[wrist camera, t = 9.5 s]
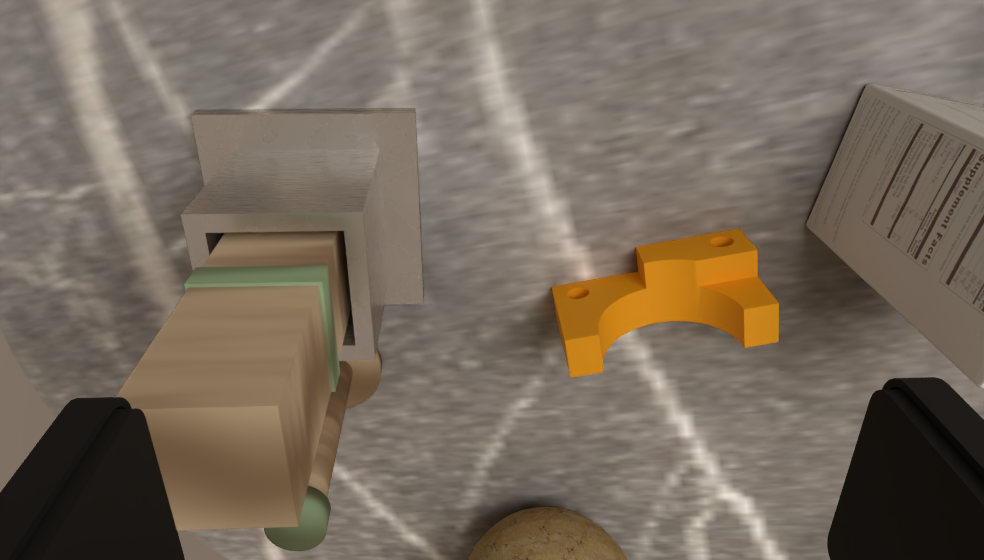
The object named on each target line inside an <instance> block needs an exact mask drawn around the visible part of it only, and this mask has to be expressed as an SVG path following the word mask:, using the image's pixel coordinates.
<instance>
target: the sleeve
mask: <svg viewBox="0 0 984 560" xmlns="http://www.w3.org/2000/svg"><path fill="white" fill-rule="evenodd" d="M191 119H192V124H193V129H194V135H195V140H196V145H197V150H198V155H199V161H200V166H201V171H202V176H203V181H204V188H203V189H202V190H201V191H200V192H199V193H198V195H197V196H196V197H195V198H194V199H193V201H192V202H191V203H190V204H189V205H188V207H187V208H186V209H185V210H184V211H183V213H182V214H181V218H182V223H183V227H184V232H185V237H186V241H187V246H188V251H189V256H190V260H191V265H192V270H194V269H195V267H202V266H203V265H204V263H205V262H206V260H207V259H208V257H209V256H210V254H211V253H212V251H213V250H214V248H215V247H216V245H217V244H218V242H219V241H220V239H221V238H222V236H223V235H224V233H226V232H292V231H344V236H345V246H346V256H347V266H348V276H349V286H350V296H351V306H352V308H351V312H350V316H349V320H348V324H347V328H346V332H345V336H344V341H343V345H342V349H341V353H340V357H339V361H364V360H375V358H376V352H377V346H378V340H379V334H380V328H381V322H382V316H383V310H384V305H398V304H424V284H423V262H422V240H421V218H420V196H419V175H418V153H417V131H416V109H415V108H396V109H272V110H196V111H195V112H194V113H193V114H191Z"/></svg>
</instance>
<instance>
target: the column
mask: <svg viewBox="0 0 984 560" xmlns="http://www.w3.org/2000/svg"><path fill="white" fill-rule="evenodd" d="M184 287H185V291H186V292H185V293H184V295H183V296H182V298H181V299H180V301H179V302H178V304H177V305H176V307H175V308H174V310H173V311H172V313H171V314H170V316H169V317H168V319H167V320H166V322H165V323H164V325H163V326H162V328H161V329H160V331H159V332H158V334H157V335H156V337H155V339H154V340H153V342H152V343H151V345H150V346H149V348H148V349H147V351H146V352H145V354H144V355H143V357H142V358H141V360H140V361H139V363H138V364H137V366H136V367H135V369H134V370H133V372H132V373H131V375H130V376H129V378H128V379H127V381H126V382H125V384H124V385H123V387H122V388H121V390H120V391H119V393H118V394H117V396H116V397H122V398H125V399H126V400H127V401H128V402H129V403H130V406H131V408H132V409H134V408H138V409H141V410H142V411H143V413H144V415H145V417H146V420H147V424H148V428H149V431H150V435H151V439H152V442H153V446H154V449H155V453H156V457H157V460H158V464H159V467H160V471H161V475H162V478H163V482H164V486H165V489H166V493H167V496H168V500H169V504H170V507H171V511H172V514H173V518H174V522H175V525H176V529H177V531H178V530H209V529H241V528H272V527H298V525H299V521H300V517H301V512H302V508H303V504H304V500H305V496H306V492H307V488H308V484H309V480H310V476H311V472H312V467H313V463H314V459H315V455H316V451H317V447H318V443H319V439H320V435H321V431H322V427H323V422H324V418H325V414H326V410H327V406H328V402H329V398H330V394H331V392H335V391H336V387H337V383H338V379H339V374H340V367H339V357H340V353H341V349H342V345H343V341H344V336H345V332H346V328H347V324H348V320H349V316H350V312H351V308H352V306H351V296H350V286H349V276H348V266H347V256H346V246H345V236H344V231H292V232H226V233H224V235H223V236H222V238H221V239H220V241H219V242H218V244H217V245H216V247H215V248H214V250H213V251H212V253H211V254H210V256H209V257H208V259H207V260H206V262H205V263H204V265H203V266H202V267H195V269H194V270H193V272H192V273H191V275H190V276H189V278H188V279H187V281H186V282H185V283H184Z"/></svg>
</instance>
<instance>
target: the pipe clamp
mask: <svg viewBox="0 0 984 560" xmlns="http://www.w3.org/2000/svg"><path fill="white" fill-rule="evenodd" d="M636 255H637V266H638V272H633V273H627V274H621V275H616V276H610V277H604V278H599V279H593V280H587V281H582V282H576V283H571V284H565V285H559V286H554V287H552V292H553V298H554V305H555V311H556V317H557V323H558V327H559V331H560V335H561V339H562V344H563V348H564V352H565V356H566V360H567V365H568V369H569V373H570V377H577V376H583V375H589V374H594V373H600V372H604V369H603V358H604V355H605V353H606V351H607V349H608V348H609V347H610V345H611V344H612V343H613V342H614V341H616V340H617V339H618V338H619V337H621V336H622V335H624V334H626V333H627V332H629V331H631V330H634V329H636V328H639V327H642V326H645V325H649V324H653V323H659V322H667V321H689V322H697V323H703V324H707V325H711V326H714V327H717V328H719V329H721V330H724V331H726V332H727V333H729V334H731V335H732V336H734V337H735V338H736V339H737V340H739V342H740V343H741V344H742V345H743V346H744V348H746V347H751V346H757V345H763V344H769V343H775V342H779V303H778V301H777V300H776V299H775V298H774V296H773V295H772V294H771V293H770V291H769V290H768V289H767V287H766V286H765V285H764V284H763V282H762V281H761V280H760V279H759V277H758V250H757V249H756V248H755V246H754V245H753V244H752V243H751V242H750V240H749V239H748V238H747V237H746V236H745V234H744V233H743V232H742V231H741V230H740V229H734V230H728V231H722V232H717V233H711V234H706V235H700V236H694V237H689V238H683V239H678V240H672V241H666V242H661V243H655V244H650V245H644V246H639V247H636Z"/></svg>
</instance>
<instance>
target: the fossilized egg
mask: <svg viewBox="0 0 984 560" xmlns="http://www.w3.org/2000/svg"><path fill="white" fill-rule="evenodd" d="M468 560H627V558H626V556H625V555H624V553H623V551H622V549H621V548H620V547H619V545H618V544H617V543H616V542H615V541H614V540H613V539H612V538H611V537H610V536H609V534H608V533H607V532H606V531H605V530H604V529H603V528H602V527H600V526H599V525H597V524H596V523H594V522H593V521H591V520H590V519H588V518H586V517H584V516H582V515H580V514H578V513H576V512H573V511H571V510H567V509H563V508H557V507H534V508H529V509H525V510H521V511H518V512H515V513H513V514H510V515H509V516H507V517H505V518H503V519H502V520H500V521H499V522H498V523H496V524H495V525H494V526H493V527H492V528H490V529H489V530H488V531H487V532H486V533H485V534H484V535H483V536H482V538H481V539H480V540H479V541H478V542H477V544H476V545H475V547H474V549H473V550H472V552H471V554H470V556H469V558H468Z"/></svg>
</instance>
